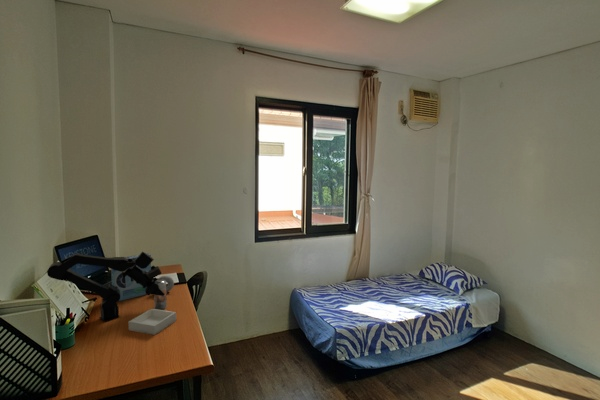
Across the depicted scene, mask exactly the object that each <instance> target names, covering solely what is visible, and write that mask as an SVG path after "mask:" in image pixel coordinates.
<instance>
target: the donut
mask: <svg viewBox="0 0 600 400" xmlns="http://www.w3.org/2000/svg"><path fill="white" fill-rule="evenodd" d="M157 280H166V293H168V292H170V291H171V290H172V289H173V288H174V285H175V281H174V279H173V277H171V276H169V275H162V276H160V277H159V278H156V281H157Z"/></svg>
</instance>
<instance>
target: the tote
mask: <svg viewBox="0 0 600 400" xmlns="http://www.w3.org/2000/svg"><path fill="white" fill-rule="evenodd" d="M176 321H177V312H176V311H170V310H165V309H163V310H158V309H155V308H150V309H148V310H146V311H145V312H143V313H141V314H140V315H138V316H135V317H134V318H132V319H130V320H129V321H127V322H128V331H131V332H132V331H133V332H136V333H141V334H142V333H143V334H146V335H147V334H148V335H153V336H156V335H157V334H159V333H160V332H162V331H163V330H164V329H166V328H167V327H169V326H170V325H172V324H173V323H175V322H176Z"/></svg>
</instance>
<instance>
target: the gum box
mask: <svg viewBox="0 0 600 400" xmlns="http://www.w3.org/2000/svg"><path fill="white" fill-rule="evenodd" d="M146 254H148V255H150V256H151V257H152V254H151V253H146ZM139 255H140V254H136V255H130V256H125V257H126V258H127V259H136V258H137V257H138V256H139ZM136 266H137V265H136ZM151 266H152V262H151V263H150V264H149V265H148V266H147V267H146V268H144V269H141V268H140V267H138V266H137V267H138V268H140V269H141V270H142V271H146V272H149V270H151ZM110 269H111V268H110ZM125 271H126V270H125ZM110 272H111V273H110V274H111V284H112V285H113V286H115V287H118V289H119V290H120V300H119V301H118V302H121V301H122V302H123V301H126V300H129V299H133V298H138V297H141V296H145V295H147V294H146V293H145V289H146V288H145V289H144V288H143V286H141V285H140V284H139V283H138V284H137V283H136V281H134V280H133V279H131V278H130V277H128V276H126V277H125V278H122V272H124V271H117V270H113V269H111V270H110Z"/></svg>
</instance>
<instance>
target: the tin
mask: <svg viewBox="0 0 600 400" xmlns="http://www.w3.org/2000/svg"><path fill="white" fill-rule="evenodd" d="M155 282H156V283H158V285H159V286H158V287H159V289H160V290H161V291H162V292H163V293H164V294H165V295H164V296H160V295H153V301H154V309H158V310H165V309H166V308H167V298H168V297H167V292H166V286H167V282H166V280H157V279H156V281H155Z"/></svg>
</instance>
